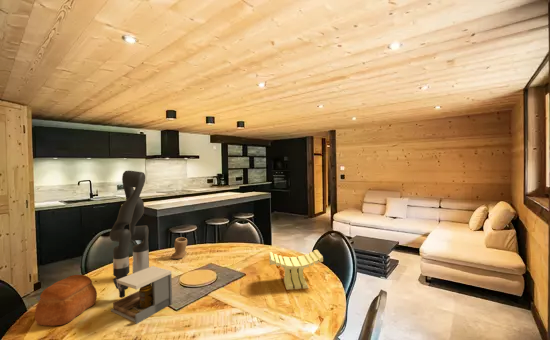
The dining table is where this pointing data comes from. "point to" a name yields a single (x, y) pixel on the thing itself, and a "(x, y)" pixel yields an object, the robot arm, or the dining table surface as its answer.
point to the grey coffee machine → (160, 290)
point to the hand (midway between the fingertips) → (122, 297)
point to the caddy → (127, 304)
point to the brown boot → (179, 248)
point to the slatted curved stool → (295, 267)
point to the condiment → (145, 298)
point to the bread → (65, 300)
